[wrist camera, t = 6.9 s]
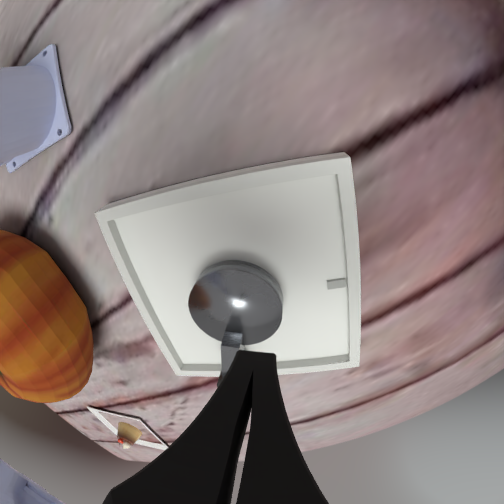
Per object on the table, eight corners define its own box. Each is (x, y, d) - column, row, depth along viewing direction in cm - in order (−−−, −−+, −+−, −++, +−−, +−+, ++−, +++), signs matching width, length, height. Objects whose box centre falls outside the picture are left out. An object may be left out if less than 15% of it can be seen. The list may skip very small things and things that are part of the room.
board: (182, 361, 25) (176, 375, 24) (108, 203, 18) (94, 213, 17) (356, 350, 22) (359, 366, 20) (344, 151, 15) (350, 157, 13)
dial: (191, 255, 18) (173, 283, 15) (288, 265, 17) (287, 298, 14) (201, 356, 22) (190, 386, 20) (273, 366, 22) (269, 399, 19)
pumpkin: (30, 176, 18) (-105, 263, 5) (145, 345, 25) (80, 477, 12) (-19, 254, 24) (-88, 318, 11) (61, 362, 32) (13, 439, 18)
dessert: (88, 401, 37) (77, 422, 33) (142, 413, 35) (131, 439, 31) (123, 435, 43) (115, 454, 39) (174, 446, 40) (167, 468, 36)
